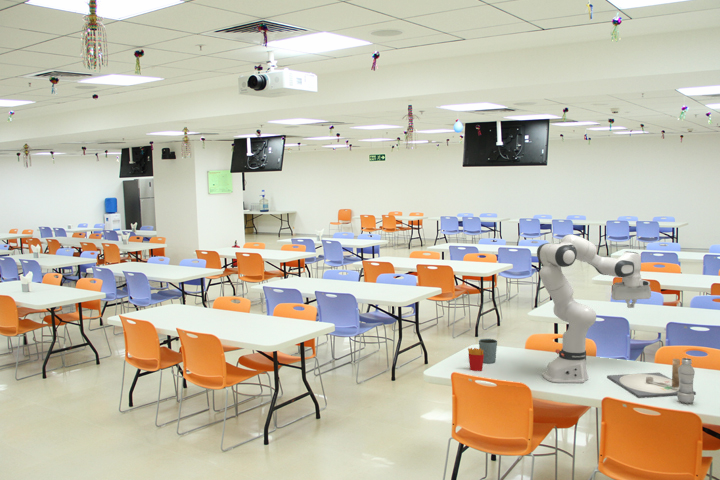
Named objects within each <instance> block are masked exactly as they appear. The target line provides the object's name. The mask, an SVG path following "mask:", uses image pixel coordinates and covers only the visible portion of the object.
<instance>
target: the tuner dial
mask: <svg viewBox="0 0 720 480" xmlns="http://www.w3.org/2000/svg"><path fill="white" fill-rule="evenodd" d="M646 377H652V378H653V381H658V382H662V383H666V384H670V385H672V378H670V377H669V376H666V375H665V374H663V373H661V372H645V373H626V374H611V375H606V378H607V379H608V380H610V381H612V382H613V383H614V384H616V385H618V386H619V387H621V388H623V389H624V390H625V391H627V393H630V394H631V395H633V396H635V397H636V398H638V399H643V398H644V399H645V397H647V398H662V397H677V394H678V390H679V387H678V388H672V387H668V386H664V385H660V384H656V383H647V382H646ZM693 393H694V396H695V395H696V394H697V393H696V391H695V390H693Z"/></svg>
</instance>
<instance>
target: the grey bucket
mask: <svg viewBox="0 0 720 480" xmlns="http://www.w3.org/2000/svg"><path fill="white" fill-rule="evenodd" d="M497 346H498V340H496V339H494V338H481V339H479V340H478V349H479V348H480V349H481V351H482V350H483V354H484V358H483V364H487V365H488V364H489V365H491V364H496V361H497V359H496V358H497Z"/></svg>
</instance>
